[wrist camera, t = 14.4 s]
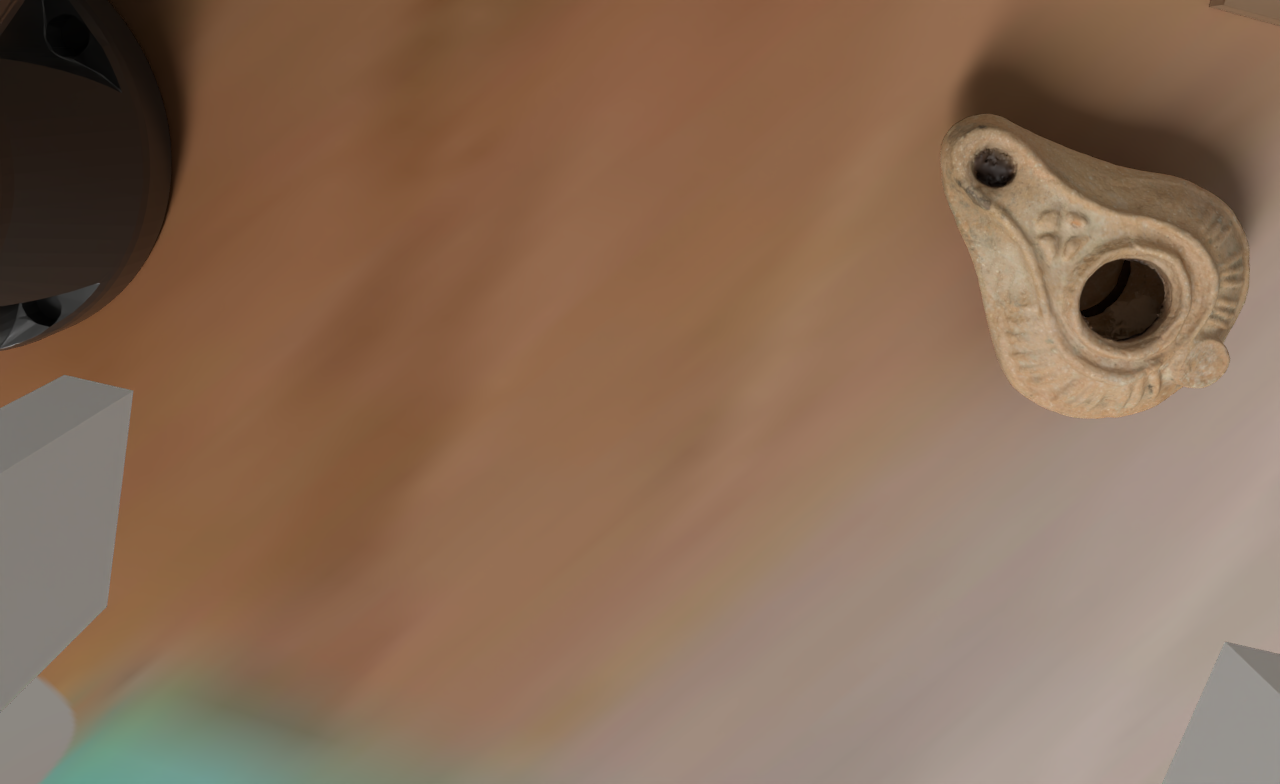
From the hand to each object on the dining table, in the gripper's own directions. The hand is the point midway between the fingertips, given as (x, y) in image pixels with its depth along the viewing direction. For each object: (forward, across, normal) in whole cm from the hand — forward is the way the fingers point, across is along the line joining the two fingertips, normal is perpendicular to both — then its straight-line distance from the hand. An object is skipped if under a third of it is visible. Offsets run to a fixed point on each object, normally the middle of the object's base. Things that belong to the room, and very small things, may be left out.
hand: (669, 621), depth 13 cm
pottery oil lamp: (+29, +15, +4) cm, 33 cm away
